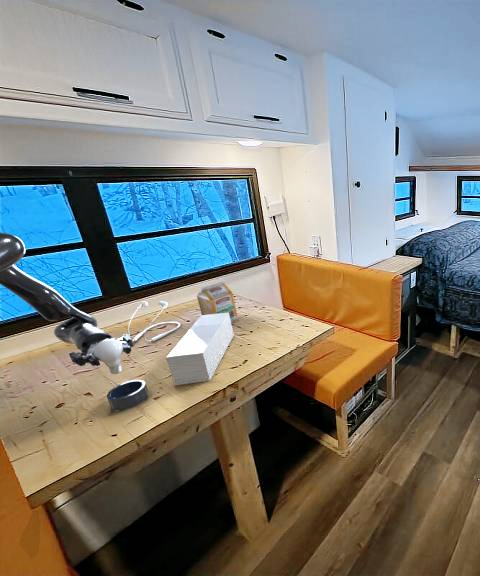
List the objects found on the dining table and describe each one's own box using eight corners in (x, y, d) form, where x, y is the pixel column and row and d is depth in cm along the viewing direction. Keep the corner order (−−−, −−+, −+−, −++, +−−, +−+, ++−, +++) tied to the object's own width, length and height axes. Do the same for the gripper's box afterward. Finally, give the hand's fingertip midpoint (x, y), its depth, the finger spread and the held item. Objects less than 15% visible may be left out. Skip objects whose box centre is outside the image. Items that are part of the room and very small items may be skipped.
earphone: (116, 338, 122) (135, 298, 131) (146, 351, 137) (161, 314, 146) (149, 338, 122) (166, 298, 131) (175, 351, 136) (189, 314, 145)
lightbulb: (98, 376, 89) (85, 343, 85) (123, 364, 94) (112, 333, 90) (110, 382, 86) (97, 348, 82) (135, 369, 91) (124, 337, 87)
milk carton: (216, 329, 136) (207, 289, 130) (204, 324, 142) (194, 285, 135) (238, 320, 145) (230, 282, 138) (225, 315, 150) (217, 279, 144)
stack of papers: (206, 338, 129) (201, 315, 125) (233, 335, 131) (228, 312, 127) (174, 385, 100) (166, 357, 96) (210, 380, 102) (202, 352, 98)
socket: (134, 410, 89) (130, 399, 88) (102, 411, 89) (98, 400, 88) (155, 389, 98) (152, 379, 97) (126, 390, 98) (122, 380, 96)
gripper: (56, 340, 88) (74, 357, 80) (117, 321, 99) (139, 334, 91) (66, 362, 91) (85, 381, 82) (124, 341, 102) (146, 355, 93)
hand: (113, 356), depth 87 cm, fingers closed on lightbulb, 6 cm apart
